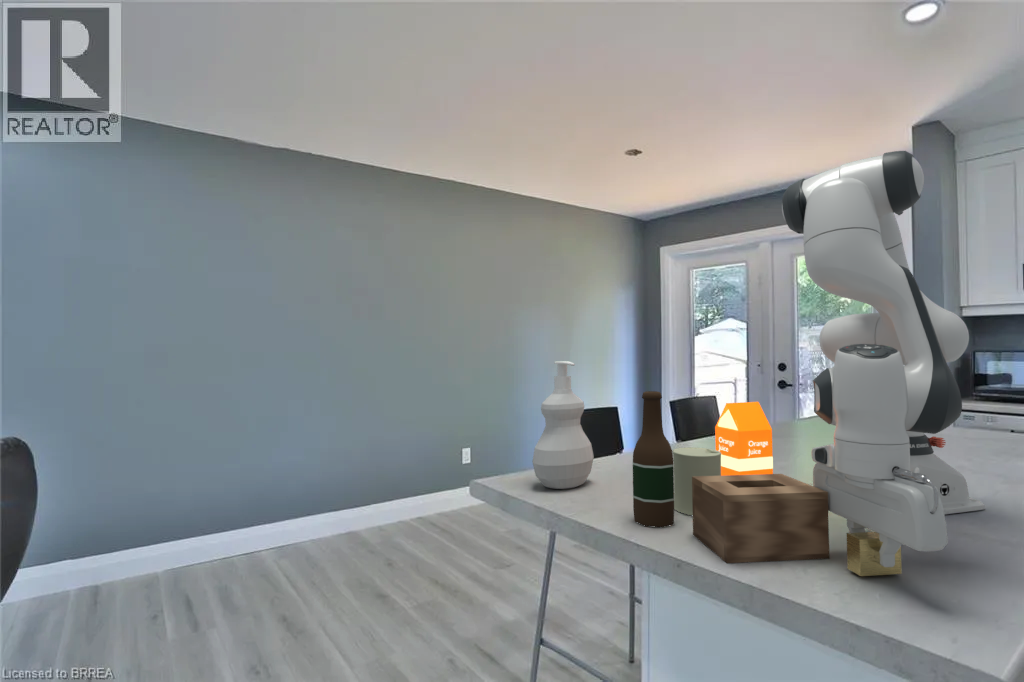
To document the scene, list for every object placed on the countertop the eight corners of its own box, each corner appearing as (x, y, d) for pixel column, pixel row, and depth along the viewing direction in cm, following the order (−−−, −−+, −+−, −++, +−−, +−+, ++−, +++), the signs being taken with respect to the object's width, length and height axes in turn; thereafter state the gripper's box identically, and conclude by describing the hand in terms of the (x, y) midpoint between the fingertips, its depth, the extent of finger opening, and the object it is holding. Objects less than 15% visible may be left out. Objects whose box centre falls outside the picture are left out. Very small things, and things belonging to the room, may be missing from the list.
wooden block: (887, 566, 75) (886, 531, 75) (901, 573, 73) (900, 537, 73) (847, 568, 75) (846, 533, 75) (860, 576, 72) (859, 539, 72)
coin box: (782, 531, 91) (781, 473, 92) (829, 558, 79) (827, 491, 80) (693, 535, 90) (691, 476, 90) (726, 563, 78) (725, 495, 78)
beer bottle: (627, 515, 101) (625, 390, 102) (666, 514, 102) (664, 389, 102) (640, 529, 94) (638, 393, 94) (682, 527, 94) (680, 393, 95)
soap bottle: (555, 496, 115) (553, 362, 116) (521, 486, 124) (519, 361, 124) (606, 483, 126) (604, 360, 126) (571, 475, 135) (569, 360, 135)
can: (727, 518, 99) (725, 454, 99) (676, 515, 101) (674, 452, 101) (718, 504, 108) (716, 445, 108) (671, 502, 110) (670, 444, 110)
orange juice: (715, 491, 118) (714, 401, 119) (748, 487, 121) (746, 400, 121) (740, 500, 111) (737, 404, 111) (774, 496, 113) (772, 403, 114)
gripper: (960, 477, 64) (964, 592, 64) (841, 446, 84) (844, 533, 84) (912, 479, 63) (915, 595, 63) (804, 447, 84) (806, 535, 83)
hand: (873, 559), depth 74 cm, fingers closed on wooden block, 2 cm apart
